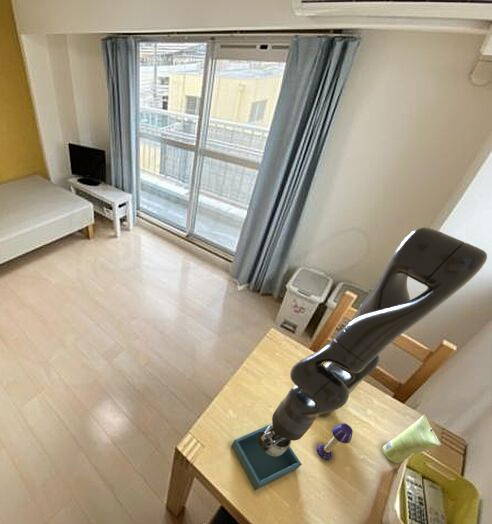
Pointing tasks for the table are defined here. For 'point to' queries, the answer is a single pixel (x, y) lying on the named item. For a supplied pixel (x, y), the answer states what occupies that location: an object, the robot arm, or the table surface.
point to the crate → (263, 460)
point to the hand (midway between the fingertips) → (274, 442)
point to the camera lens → (278, 446)
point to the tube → (411, 441)
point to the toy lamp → (335, 440)
